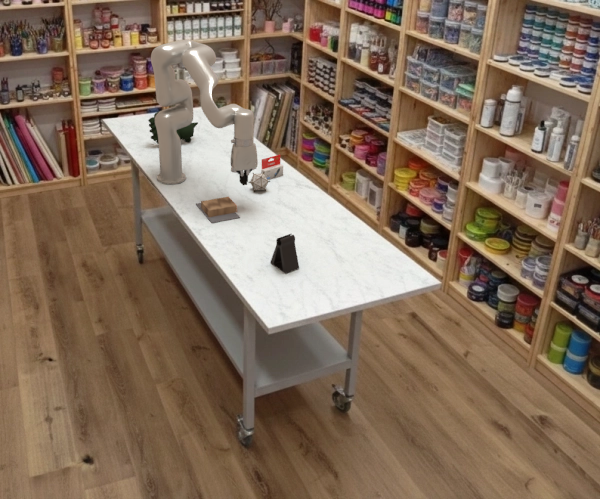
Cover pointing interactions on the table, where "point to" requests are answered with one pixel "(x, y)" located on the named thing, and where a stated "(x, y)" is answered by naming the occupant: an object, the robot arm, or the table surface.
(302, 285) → the table surface
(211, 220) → the mat
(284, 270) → the phone stand
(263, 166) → the ink cartridge box
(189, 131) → the toy figurine
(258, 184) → the game die
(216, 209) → the walnut slab
